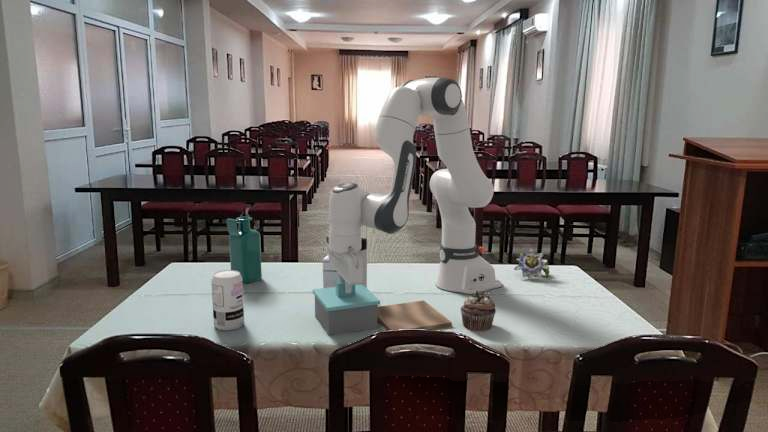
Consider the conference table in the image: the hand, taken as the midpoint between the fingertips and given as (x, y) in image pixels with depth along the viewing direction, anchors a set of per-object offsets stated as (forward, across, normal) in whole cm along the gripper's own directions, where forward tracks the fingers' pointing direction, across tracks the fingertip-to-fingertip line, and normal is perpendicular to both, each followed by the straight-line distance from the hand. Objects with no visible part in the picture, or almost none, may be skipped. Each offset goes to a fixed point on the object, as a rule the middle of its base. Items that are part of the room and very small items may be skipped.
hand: (345, 290), depth 161 cm
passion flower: (+10, +17, -75) cm, 78 cm away
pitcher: (+10, +47, +21) cm, 52 cm away
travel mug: (+10, +16, -9) cm, 21 cm away
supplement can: (+10, +9, +31) cm, 34 cm away
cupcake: (+10, -15, -34) cm, 38 cm away
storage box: (+10, 0, 0) cm, 10 cm away
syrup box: (+10, +17, -2) cm, 20 cm away
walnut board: (+10, -4, -18) cm, 21 cm away
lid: (+3, 0, 0) cm, 3 cm away
